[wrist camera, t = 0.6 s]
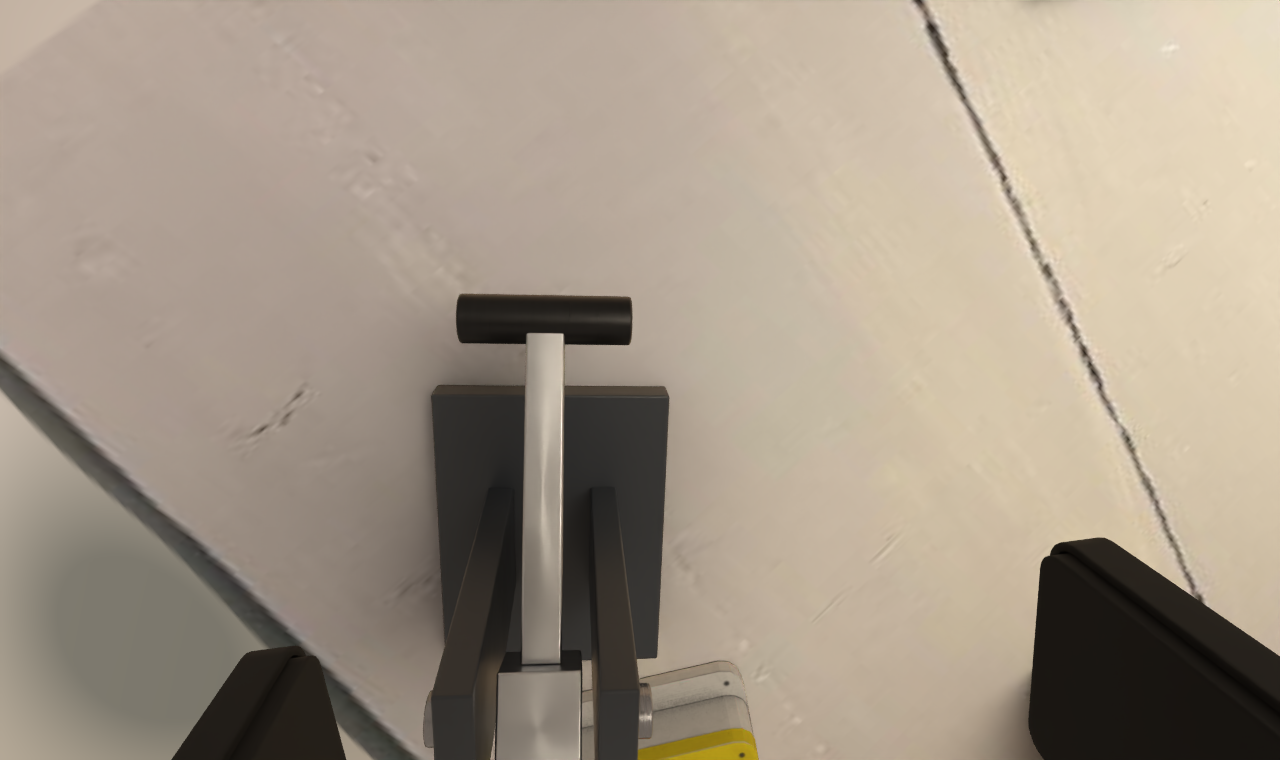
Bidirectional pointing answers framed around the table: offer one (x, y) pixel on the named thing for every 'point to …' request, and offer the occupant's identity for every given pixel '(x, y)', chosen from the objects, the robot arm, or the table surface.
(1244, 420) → the table surface
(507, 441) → the lever stand
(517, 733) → the tap lever
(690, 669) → the emergency button
